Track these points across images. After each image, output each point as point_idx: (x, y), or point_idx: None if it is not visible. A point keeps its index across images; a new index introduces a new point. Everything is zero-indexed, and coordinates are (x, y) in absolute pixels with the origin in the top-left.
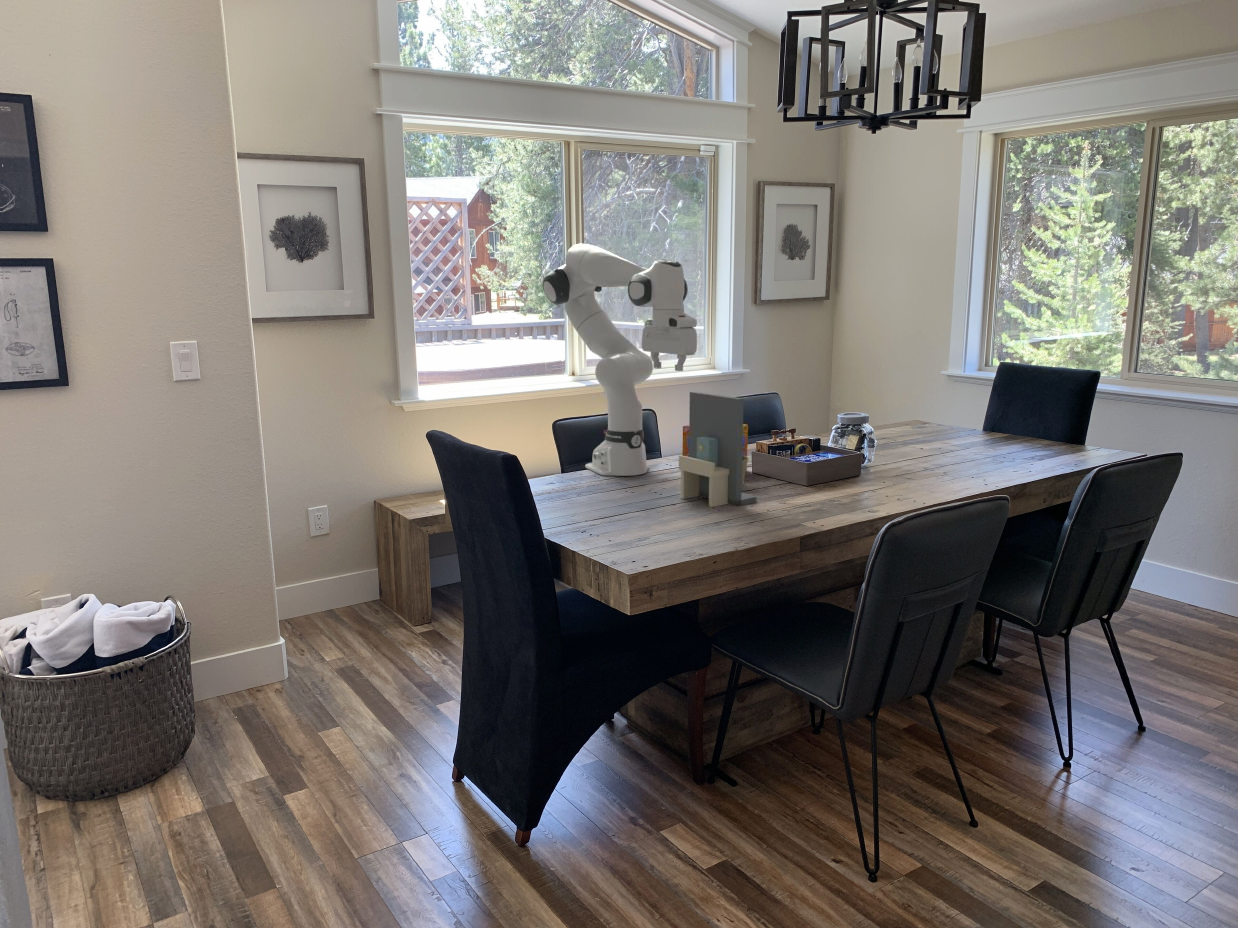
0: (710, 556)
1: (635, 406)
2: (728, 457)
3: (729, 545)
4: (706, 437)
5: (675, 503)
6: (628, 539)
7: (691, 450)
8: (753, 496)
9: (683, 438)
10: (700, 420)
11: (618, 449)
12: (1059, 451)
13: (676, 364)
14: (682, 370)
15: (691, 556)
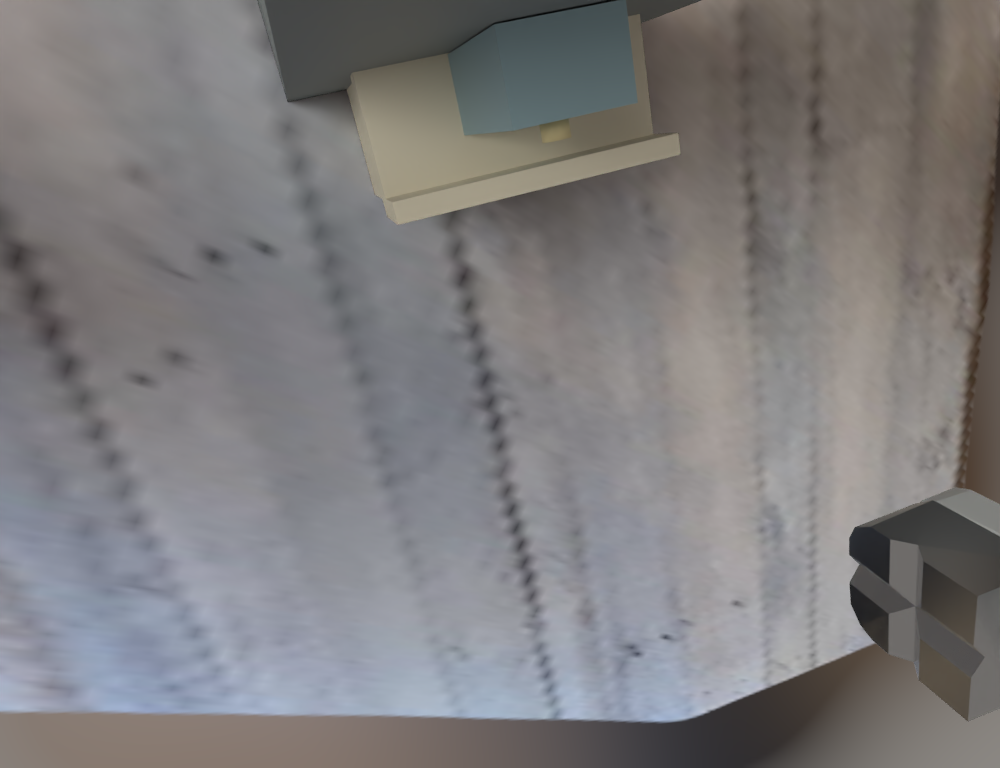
0: (966, 418)
1: None
2: (667, 1)
3: (937, 331)
4: (538, 53)
5: (452, 261)
6: (754, 558)
7: (310, 75)
8: None
9: None
10: (446, 13)
11: None
12: None
13: (979, 686)
14: (953, 495)
15: (940, 459)
